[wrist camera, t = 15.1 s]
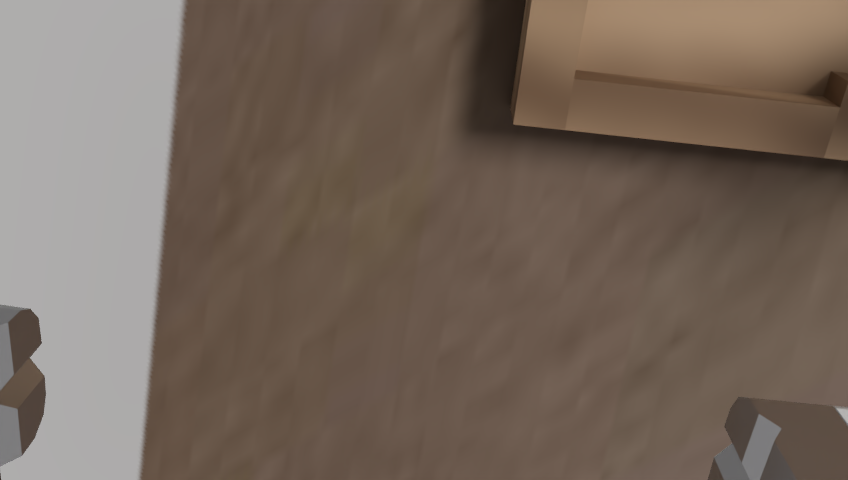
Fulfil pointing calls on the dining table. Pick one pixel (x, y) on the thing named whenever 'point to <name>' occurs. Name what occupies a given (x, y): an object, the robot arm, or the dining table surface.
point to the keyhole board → (689, 72)
